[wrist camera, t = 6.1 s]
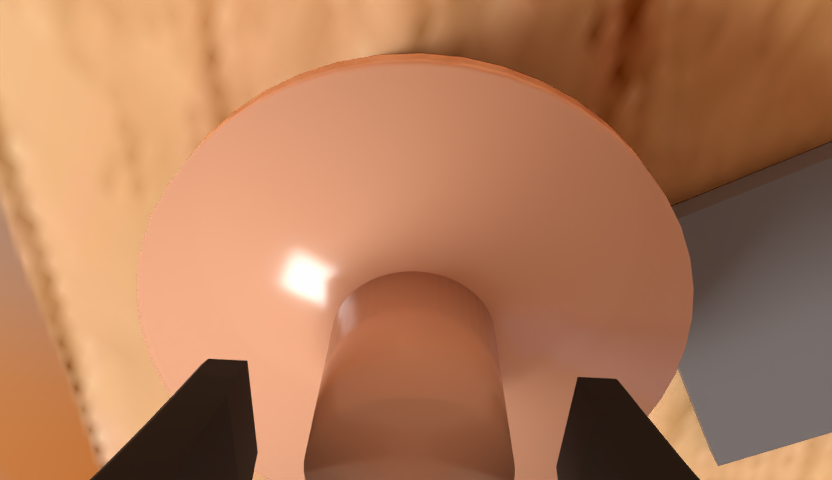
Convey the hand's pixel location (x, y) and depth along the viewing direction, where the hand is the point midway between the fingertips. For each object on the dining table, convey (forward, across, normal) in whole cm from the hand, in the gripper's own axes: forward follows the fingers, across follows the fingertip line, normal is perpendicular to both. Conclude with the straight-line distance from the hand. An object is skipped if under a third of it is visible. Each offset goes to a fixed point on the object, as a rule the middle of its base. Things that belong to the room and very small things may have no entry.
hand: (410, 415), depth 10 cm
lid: (+3, 0, 0) cm, 3 cm away
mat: (+7, -11, +2) cm, 13 cm away
